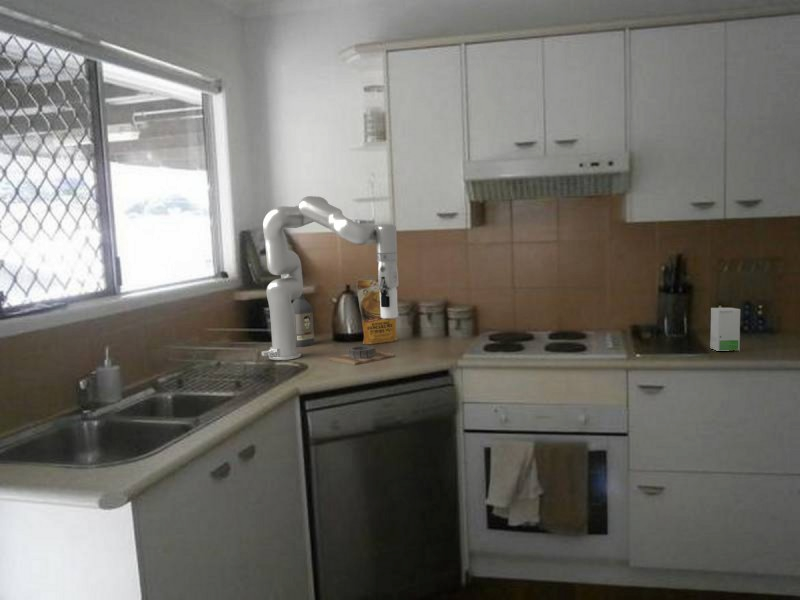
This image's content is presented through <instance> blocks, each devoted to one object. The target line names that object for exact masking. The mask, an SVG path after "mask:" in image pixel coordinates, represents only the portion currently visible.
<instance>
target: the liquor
mask: <svg viewBox="0 0 800 600" xmlns="http://www.w3.org/2000/svg"><path fill="white" fill-rule="evenodd" d="M302 279H303V280H304V277H303V276H302ZM292 301H293V302H291V303H292V306H293V309H294V316H295V332H296V346H297V347H296V348H300V347H309V345H310V346H313V345H314V343H315V331H314V313H313V306H312V305H311V304H310V303H309V302H308V301H307V299H306V298H305V295H304V291H303V292H302V294H301V296H300V297H299V298H297V299H295V300H292Z"/></svg>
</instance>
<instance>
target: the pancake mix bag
mask: <svg viewBox="0 0 800 600" xmlns="http://www.w3.org/2000/svg"><path fill="white" fill-rule="evenodd" d="M355 287H356V288H355V289H356V294H357V298H358V299H357V300H358V305H359V311H360V315H361V325H362V326H361V327H362V331H363V341H362V345H378V343H379V344H385V342H387V343H393V342H392V341H394V340H395V341H397V340H398V338H397V318H394V319H382V318H381V312H380V289H379V282H378V278H368V279H365V278H364V279H358V280H357V281H355ZM395 341H394V342H395Z"/></svg>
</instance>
